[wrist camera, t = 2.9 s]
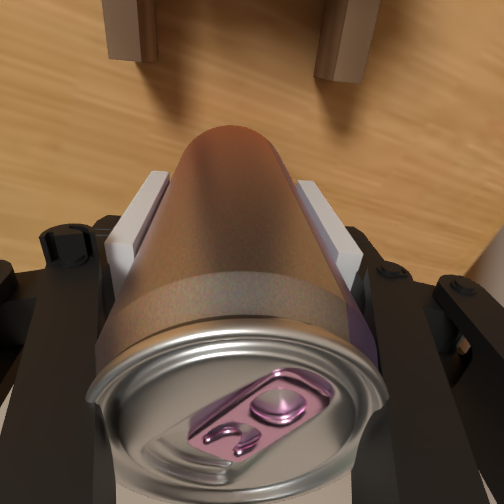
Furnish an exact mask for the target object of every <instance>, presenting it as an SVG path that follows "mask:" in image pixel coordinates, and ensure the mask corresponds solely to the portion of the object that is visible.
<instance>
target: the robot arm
mask: <svg viewBox="0 0 504 504" xmlns="http://www.w3.org/2000/svg"><path fill="white" fill-rule="evenodd" d="M169 183H170V181H169V172H166V171H151V173H150V174H149V176H148V177H147V179H146V180H145V182H144V183H143V185H142V186H141V188H140V189H139V191H138V192H137V194H136V195H135V197H134V198H133V200H132V201H131V203H130V204H129V206H128V208H127V209H126V211H125V212H124V214H123V215H122V216H115V215H107V216H105V217H103V218H101V219H100V220H98V221H97V222H96V223H95V224H94V225H93V227H90V226H88V225H84V224H64V225H58V226H55V227H52V228H49V229H47V230H46V231H44V232H42V234H41V235H40V236H39V239H40V243H41V246H42V249H43V253H44V256H45V260H46V267H45V269H41V270H35V271H28V272H21V273H14V270H13V267H12V265H11V263H9V262H7V261H5V260H0V407H1V405H2V403H3V402H4V400H5V398H6V397H7V395H8V393H9V391H10V390H11V388H12V386H13V384H14V386H13V390H12V394H11V397H10V401H9V405H8V409H7V412H6V416H5V420H4V423H3V427H2V431H1V435H0V504H116V485H115V484H116V480H115V472H114V464H113V456H112V450H111V445H110V440H109V436H108V432H107V428H106V424H105V420H104V417H103V413H102V410H101V407H100V405H99V404H96V402H93V403H89V402H87V401H86V399H85V398H86V394H87V391H88V389H89V387H90V385H91V384H92V382H93V381H94V379H95V378H96V357H95V344H96V342H97V340H98V338H99V336H100V333H101V331H102V329H103V327H104V325H105V322H106V320H107V318H108V316H109V314H110V312H111V309H112V307H113V305H114V303H115V301H116V298H117V296H118V294H119V292H120V290H121V288H122V285H123V283H124V281H125V279H126V277H127V275H128V272H129V270H130V268H131V266H132V264H133V261H134V259H135V257H136V255H137V253H138V251H139V248H140V246H141V244H142V242H143V240H144V238H145V235H146V233H147V231H148V229H149V227H150V224H151V222H152V220H153V218H154V216H155V214H156V211H157V209H158V207H159V205H160V203H161V201H162V198H163V196H164V194H165V192H166V190H167V187H168V185H169ZM296 189H297V191H298V193H299V194H300V196H301V198H302V200H303V202H304V204H305V206H306V208H307V210H308V212H309V214H310V216H311V217H312V219H313V221H314V223H315V225H316V227H317V229H318V231H319V233H320V235H321V237H322V239H323V241H324V242H325V244H326V246H327V248H328V250H329V252H330V254H331V256H332V258H333V260H334V262H335V264H336V265H337V267H338V269H339V271H340V273H341V275H342V277H343V279H344V281H345V283H346V285H347V287H348V288H349V290H350V292H351V294H352V296H353V298H354V300H355V302H356V304H357V306H358V308H359V310H360V312H361V313H362V315H363V317H364V319H365V321H366V323H367V325H368V327H369V329H370V331H371V333H372V335H373V338H374V341H375V344H376V348H377V356H378V371H379V373H380V374H381V376H382V378H383V380H384V383H385V385H386V387H387V391H388V394H389V399H388V400H387V401H386V402H385V404H384V405H383V407H382V408H381V409H379V410H376V411H375V412H374V413H373V414H372V415H371V417H370V419H369V420H368V422H367V424H366V426H365V429H364V431H363V433H362V436H361V439H360V442H359V445H358V449H357V454H356V458H355V462H354V466H353V468H352V471H351V481H352V504H490V502H489V499H488V497H487V494H486V491H485V488H484V485H483V482H482V479H481V476H480V473H481V475H482V477H483V479H484V480H485V482H486V484H487V486H488V488H489V489H490V491H491V493H492V495H493V497H494V498H495V500H496V502H497V504H504V308H503V307H502V306H501V305H500V304H499V303H498V302H497V301H496V300H495V299H494V298H493V297H492V296H491V295H490V294H489V293H488V292H487V291H486V290H485V289H484V288H483V287H481V286H480V285H479V284H477V283H475V282H473V281H472V280H471V279H469V278H464V277H463V276H457V275H443V276H441V277H440V278H439V280H438V282H437V284H436V286H433V285H428V284H424V283H419V282H415V281H413V279H412V276H411V274H410V273H409V271H407V270H406V269H405V268H403V267H402V266H400V265H398V264H396V263H393V262H389V261H384V259H383V258H382V257H381V256H380V254H379V253H378V252H377V250H376V249H375V248H374V247H373V245H372V244H371V243H370V241H368V239H367V237H366V236H365V235H364V233H362V232H361V231H359V230H358V229H356V228H355V227H349V226H344V225H343V224H342V222H341V221H340V219H339V218H338V216H337V215H336V213H335V212H334V211H333V209H332V208H331V206H330V205H329V203H328V202H327V200H326V199H325V197H324V196H323V195H322V193H321V192H320V190H319V189H318V187H317V186H316V184H315V183H314V181H304V180H298V181H297V187H296ZM464 338H466V339H467V341H468V342H469V344H470V345H471V347H470V348H469V350H468V351H467V353H466V354H465V353H464V352H463V351H462V350H461V348H460V347H459V346H460V344H461V343H462V341H463V339H464ZM479 471H480V473H479Z"/></svg>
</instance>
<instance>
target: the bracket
mask: <svg viewBox="0 0 504 504" xmlns="http://www.w3.org/2000/svg"><path fill="white" fill-rule="evenodd" d="M380 2H381V0H326V3H325V9H324V15H323V21H322V27H321V34H320V40H319V46H318V52H317V58H316V64H315V70H314V76H313V77H318V78H322V79H326V80H330V81H337V82H347V83H357V84H361V83H362V79H363V75H364V71H365V66H366V62H367V58H368V53H369V49H370V45H371V41H372V36H373V32H374V28H375V24H376V19H377V15H378V11H379V7H380ZM102 7H103V15H104V23H105V32H106V40H107V48H108V56H109V59H115V60H125V61H135V62H151V61H158V51H157V32H156V13H155V0H102Z"/></svg>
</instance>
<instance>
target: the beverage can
mask: <svg viewBox="0 0 504 504" xmlns="http://www.w3.org/2000/svg"><path fill="white" fill-rule="evenodd" d="M95 357H96V378H95V379H94V381H93V382H92V384H91V385H90V387H89V389H88V391H87V394H86V398H85V399H86V401H87V402H89V403H93V402H96V404H99V405H100V407H101V410H102V413H103V417H104V420H105V424H106V428H107V432H108V436H109V440H110V445H111V450H112V456H113V464H114V472H115V480H116V482H117V483H118V484H120V485H122V486H124V487H126V488H128V489H129V490H132V491H134V492H136V493H139V494H141V495H144V496H147V497H150V498H153V499H157V500H160V501H164V502H169V503H173V504H270V503H275V502H280V501H284V500H288V499H292V498H296V497H299V496H302V495H305V494H308V493H311V492H313V491H316V490H318V489H321V488H323V487H325V486H327V485H329V484H331V483H333V482H335V481H337V480H339V479H341V478H342V477H344V476H346V475H347V474H349V473H350V472H351V471H352V468H353V466H354V462H355V458H356V454H357V449H358V445H359V442H360V439H361V436H362V433H363V431H364V429H365V426H366V424H367V422H368V420H369V419H370V417H371V415H372V414H373V413H374V412H375V411H376V410H379V409H381V408H382V407H383V405H384V404H385V402H386V401H387V400H388V399H389V394H388V391H387V387H386V385H385V383H384V380H383V378H382V376H381V374H380V373H379V371H378V356H377V348H376V344H375V341H374V338H373V335H372V333H371V331H370V329H369V327H368V325H367V323H366V321H365V319H364V317H363V315H362V313H361V312H360V310H359V308H358V306H357V304H356V302H355V300H354V298H353V296H352V294H351V292H350V290H349V288H348V287H347V285H346V283H345V281H344V279H343V277H342V275H341V273H340V271H339V269H338V267H337V265H336V264H335V262H334V260H333V258H332V256H331V254H330V252H329V250H328V248H327V246H326V244H325V242H324V241H323V239H322V237H321V235H320V233H319V231H318V229H317V227H316V225H315V223H314V221H313V219H312V217H311V216H310V214H309V212H308V210H307V208H306V206H305V204H304V202H303V200H302V198H301V196H300V194H299V193H298V191H297V189H296V187H295V185H294V183H293V181H292V179H291V177H290V175H289V173H288V171H287V170H286V168H285V166H284V164H283V162H282V160H281V158H280V156H279V154H278V152H277V151H276V149H275V148H274V146H273V145H272V144H271V143H270V142H269V141H268V140H267V139H266V138H265V137H263V136H262V135H261V134H259V133H257V132H255V131H253V130H251V129H248V128H245V127H241V126H233V125H227V126H220V127H215V128H212V129H210V130H207V131H205V132H203V133H202V134H200V135H199V136H197V137H196V138H195V139H194V140H193V141H192V142H191V143H190V144H189V145H188V147H187V148H186V150H185V151H184V153H183V155H182V157H181V159H180V161H179V163H178V166H177V168H176V170H175V172H174V174H173V177H172V179H171V181H170V183H169V185H168V187H167V190H166V192H165V194H164V196H163V198H162V201H161V203H160V205H159V207H158V209H157V211H156V214H155V216H154V218H153V220H152V222H151V224H150V227H149V229H148V231H147V233H146V235H145V238H144V240H143V242H142V244H141V246H140V248H139V251H138V253H137V255H136V257H135V259H134V261H133V264H132V266H131V268H130V270H129V272H128V275H127V277H126V279H125V281H124V283H123V285H122V288H121V290H120V292H119V294H118V296H117V298H116V301H115V303H114V305H113V307H112V309H111V312H110V314H109V316H108V318H107V320H106V322H105V325H104V327H103V329H102V331H101V333H100V336H99V338H98V340H97V342H96V344H95Z"/></svg>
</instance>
